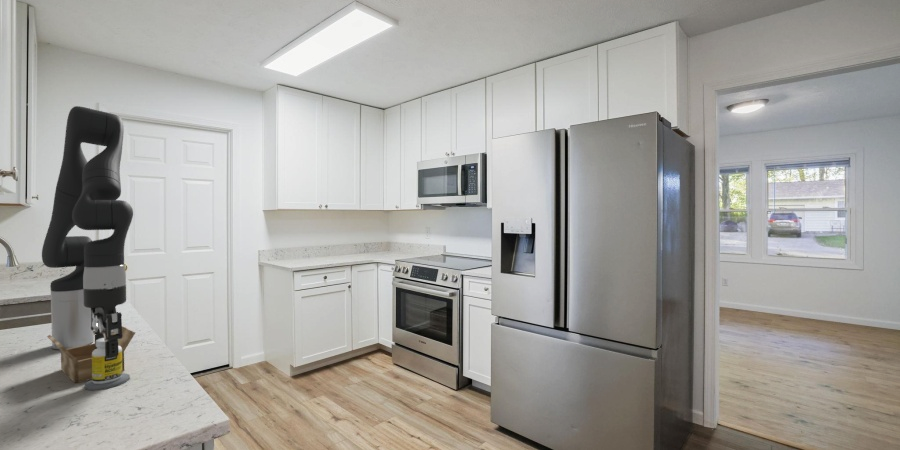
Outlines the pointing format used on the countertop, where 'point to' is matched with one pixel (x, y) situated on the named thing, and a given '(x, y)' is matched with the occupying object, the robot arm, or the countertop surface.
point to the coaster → (92, 386)
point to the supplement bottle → (105, 364)
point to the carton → (86, 357)
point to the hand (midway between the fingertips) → (106, 353)
